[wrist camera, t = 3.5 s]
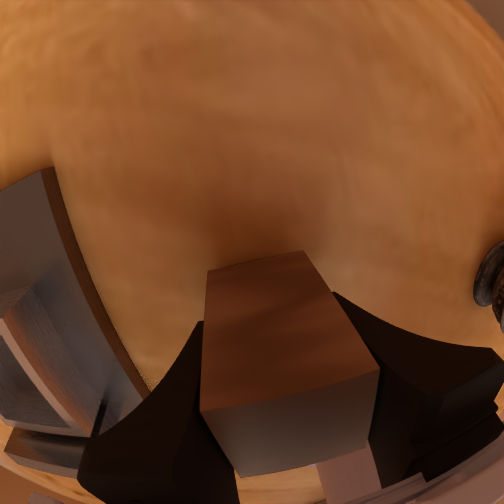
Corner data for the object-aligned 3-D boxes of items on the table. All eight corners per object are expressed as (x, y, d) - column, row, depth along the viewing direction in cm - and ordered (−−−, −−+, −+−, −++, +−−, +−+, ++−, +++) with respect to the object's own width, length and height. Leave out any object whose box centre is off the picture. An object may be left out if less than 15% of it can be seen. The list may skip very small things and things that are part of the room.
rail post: (303, 250, 12) (380, 368, 6) (312, 326, 14) (365, 448, 7) (207, 270, 12) (199, 411, 6) (229, 344, 14) (240, 477, 7)
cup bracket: (53, 166, 11) (-41, 198, 5) (173, 427, 18) (168, 501, 12) (-70, 239, 10) (-123, 277, 5) (37, 423, 17) (18, 474, 12)
